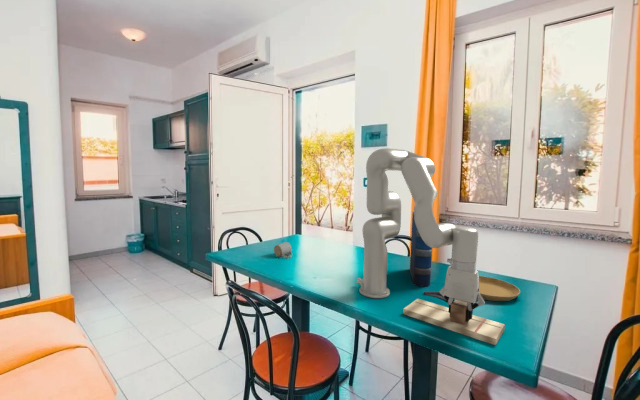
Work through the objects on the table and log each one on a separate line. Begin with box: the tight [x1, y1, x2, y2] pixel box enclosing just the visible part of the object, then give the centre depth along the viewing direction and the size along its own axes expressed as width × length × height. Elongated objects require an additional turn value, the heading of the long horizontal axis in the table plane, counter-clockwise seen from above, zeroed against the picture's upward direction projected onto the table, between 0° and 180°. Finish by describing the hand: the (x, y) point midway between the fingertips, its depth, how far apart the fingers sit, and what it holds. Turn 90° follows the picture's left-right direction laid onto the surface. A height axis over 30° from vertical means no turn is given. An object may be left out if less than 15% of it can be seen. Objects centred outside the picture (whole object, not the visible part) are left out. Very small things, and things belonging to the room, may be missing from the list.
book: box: [409, 211, 433, 287], centre depth 152 cm, size 24×9×30 cm, turn 168°
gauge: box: [450, 299, 468, 325], centre depth 109 cm, size 4×9×6 cm, turn 139°
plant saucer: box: [479, 275, 521, 302], centre depth 138 cm, size 24×24×3 cm
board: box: [402, 298, 506, 346], centre depth 111 cm, size 30×12×2 cm, turn 49°
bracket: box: [423, 291, 447, 302], centre depth 128 cm, size 14×15×3 cm
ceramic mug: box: [273, 241, 293, 259], centre depth 186 cm, size 11×8×8 cm
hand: (460, 317), depth 108 cm, fingers closed on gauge, 4 cm apart
